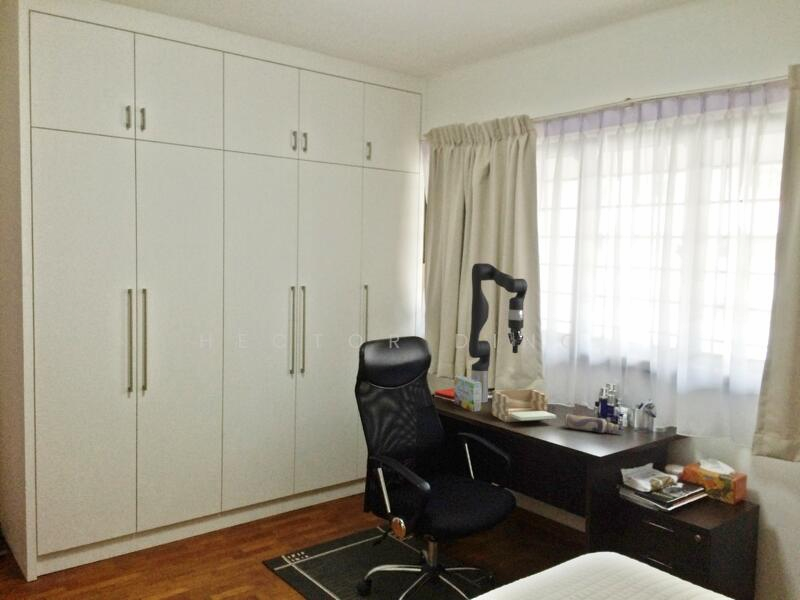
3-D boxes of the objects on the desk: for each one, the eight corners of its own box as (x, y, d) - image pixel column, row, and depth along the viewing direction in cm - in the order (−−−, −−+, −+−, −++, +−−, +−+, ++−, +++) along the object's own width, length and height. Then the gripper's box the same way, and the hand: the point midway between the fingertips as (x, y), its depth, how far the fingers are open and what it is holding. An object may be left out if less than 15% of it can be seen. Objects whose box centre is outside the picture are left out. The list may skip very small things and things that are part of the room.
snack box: (453, 403, 361) (453, 375, 360) (462, 402, 363) (462, 375, 362) (472, 412, 342) (473, 383, 341) (482, 411, 344) (482, 382, 343)
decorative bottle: (563, 429, 310) (563, 415, 310) (567, 426, 317) (567, 412, 316) (621, 437, 298) (621, 422, 298) (624, 433, 305) (624, 419, 304)
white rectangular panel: (509, 412, 322) (520, 417, 311) (543, 410, 328) (556, 415, 316) (509, 416, 322) (520, 421, 311) (543, 414, 328) (556, 419, 316)
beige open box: (491, 414, 338) (492, 390, 337) (531, 412, 344) (532, 388, 343) (505, 421, 322) (506, 397, 322) (546, 419, 329) (547, 395, 328)
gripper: (503, 317, 341) (502, 351, 342) (515, 319, 328) (514, 355, 329) (516, 317, 343) (515, 351, 344) (528, 319, 330) (527, 354, 332)
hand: (515, 353), depth 337 cm, fingers closed
